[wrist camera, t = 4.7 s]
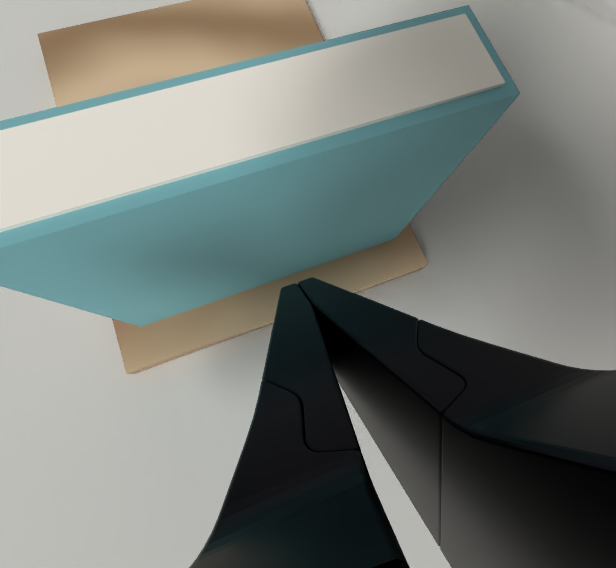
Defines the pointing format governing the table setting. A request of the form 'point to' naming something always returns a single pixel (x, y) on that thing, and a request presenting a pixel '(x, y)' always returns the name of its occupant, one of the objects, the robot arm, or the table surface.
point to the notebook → (242, 168)
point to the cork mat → (183, 61)
